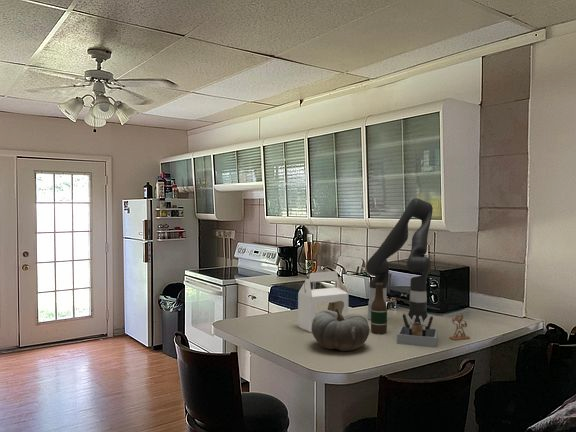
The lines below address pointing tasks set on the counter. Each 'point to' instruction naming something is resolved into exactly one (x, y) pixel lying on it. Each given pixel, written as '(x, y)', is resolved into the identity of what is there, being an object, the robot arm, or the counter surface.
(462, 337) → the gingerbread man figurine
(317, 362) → the counter surface
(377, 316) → the beer bottle
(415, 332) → the walnut block
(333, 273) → the gable box
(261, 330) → the counter surface
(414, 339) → the grey bin
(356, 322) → the gourd
